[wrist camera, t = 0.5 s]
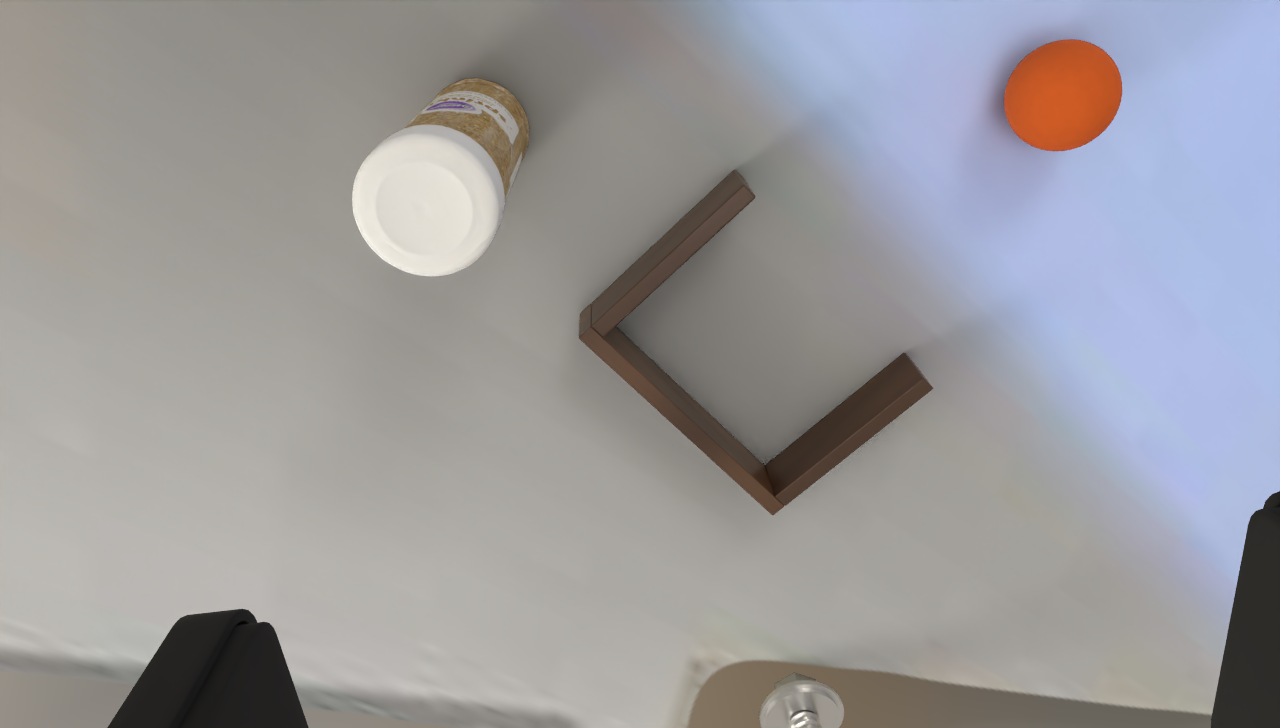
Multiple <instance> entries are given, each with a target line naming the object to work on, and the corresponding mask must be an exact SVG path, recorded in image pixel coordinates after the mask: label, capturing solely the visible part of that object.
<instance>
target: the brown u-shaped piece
mask: <svg viewBox="0 0 1280 728" xmlns="http://www.w3.org/2000/svg"><path fill="white" fill-rule="evenodd" d="M754 199H755V195H754V194H753V192H752V190H751V189H750V187H749V186H748V184H747V182H746V181H745V180H744V178H743V177H742V176H741V175H740V174H739V173H738V172H737V171H736V170H734V171H732V172H731V173H730V174H729V175H728V176H727V177H726V178H725V179H724V180H723V181H722V182H721V183H720V184H719V185H717V186H716V187H715V188H714V189H713V190H712V191H711V192H710V193H709V194H708V195H707V196H706V197H705V198H704V199H703V200H701V201H700V202H699V203H698V204H697V205H696V206H695V207H694V208H693V209H692V210H691V211H690V212H689V213H688V214H686V215H685V216H684V217H683V218H682V219H681V220H680V221H679V222H678V223H677V224H676V225H675V226H674V227H673V228H672V229H670V230H669V231H668V232H667V233H666V234H665V235H664V236H663V237H662V238H661V239H660V240H659V241H658V242H657V243H656V244H654V245H653V246H652V247H651V248H650V249H649V250H648V251H647V252H646V253H645V254H644V255H643V256H642V257H641V258H639V259H638V260H637V261H636V262H635V263H634V264H633V265H632V266H631V267H630V268H629V269H628V270H627V271H626V272H625V273H623V274H622V275H621V276H620V277H619V278H618V279H617V280H616V281H615V282H614V283H613V284H612V285H611V286H610V287H609V288H607V289H606V290H605V291H604V292H603V293H602V294H601V295H600V296H599V297H598V298H597V299H596V300H595V301H594V302H593V303H592V304H590V305H589V306H588V307H587V308H586V309H585V310H584V311H583V312H582V313H581V314H580V324H579V339H580V340H581V341H582V342H583V343H585V344H586V345H587V346H588V347H589V348H590V349H591V350H592V351H593V352H594V353H596V354H597V355H598V356H599V357H600V358H601V359H602V360H603V361H604V362H605V363H606V364H608V365H609V366H610V367H611V368H612V369H613V370H614V371H615V372H616V373H617V374H618V375H620V376H621V377H622V378H623V379H624V380H625V381H626V382H627V383H628V384H629V385H631V386H632V387H633V388H634V389H635V390H636V391H637V392H638V393H639V394H640V395H641V396H643V397H644V398H645V399H646V400H647V401H648V402H649V403H650V404H651V405H652V406H653V407H655V408H656V409H657V410H658V411H659V412H660V413H661V414H662V415H663V416H664V417H666V418H667V419H668V420H669V421H670V422H671V423H672V424H673V425H674V426H675V427H676V428H678V429H679V430H680V431H681V432H682V433H683V434H684V435H685V436H686V437H687V438H688V439H690V440H691V441H692V442H693V443H694V444H695V445H696V446H697V447H698V448H699V449H701V450H702V451H703V452H704V453H705V454H706V455H707V456H708V457H709V458H710V459H711V460H713V461H714V462H715V463H716V464H717V465H718V466H719V467H720V468H721V469H722V470H723V471H725V472H726V473H727V474H728V475H729V476H730V477H731V478H732V479H733V480H734V481H736V482H737V483H738V484H739V485H740V486H741V487H742V488H743V489H744V490H745V491H746V492H748V493H749V494H750V495H751V496H752V497H753V498H754V499H755V500H756V501H757V502H758V503H760V504H761V505H762V506H763V507H764V508H765V509H766V510H767V511H768V512H769V513H771V514H772V515H774V514H775V513H777V512H778V511H779V510H780V509H782V508H783V507H784V505H787V504H788V503H789V502H791V501H792V500H793V499H794V498H796V497H797V496H798V495H799V494H801V493H802V492H803V491H805V490H806V489H807V488H808V487H810V486H811V485H812V484H813V483H815V482H816V481H817V480H818V479H820V478H821V477H822V476H823V475H825V474H826V473H827V472H828V471H830V470H831V469H832V468H834V467H835V466H836V465H837V464H839V463H840V462H841V461H842V460H844V459H845V458H846V457H847V456H849V455H850V454H851V453H852V452H854V451H855V450H856V449H858V448H859V447H860V446H861V445H863V444H864V443H865V442H866V441H868V440H869V439H870V438H871V437H873V436H874V435H875V434H876V433H878V432H879V431H880V430H881V429H883V428H884V427H885V426H887V425H888V424H889V423H890V422H892V421H893V420H894V419H895V418H897V417H898V416H899V415H900V414H902V413H903V412H904V411H905V410H907V409H908V408H909V407H911V406H912V405H913V404H914V403H916V402H917V401H918V400H919V399H921V398H922V397H923V396H924V395H926V394H927V393H928V392H929V391H931V390H932V389H933V387H932V386H931V385H930V383H929V382H928V381H927V379H926V378H925V377H924V375H923V374H922V373H921V371H920V370H919V369H918V367H917V366H916V365H915V363H914V362H913V361H912V360H911V359H910V358H909V357H908V356H907V355H906V353H903V354H902V355H901V356H900V357H898V358H897V359H896V360H895V361H893V362H892V363H891V364H890V365H889V366H887V367H886V368H885V369H884V370H882V371H881V372H880V373H879V374H878V375H876V376H875V377H874V378H873V379H871V380H870V381H869V382H868V383H866V384H865V385H864V386H863V387H862V388H860V389H859V390H858V391H857V392H855V393H854V394H853V395H852V396H850V397H849V398H848V399H847V400H846V401H844V402H843V403H842V404H841V405H839V406H838V407H837V408H836V409H834V410H833V411H832V412H831V413H830V414H828V415H827V416H826V417H825V418H823V419H822V420H821V421H820V422H818V423H817V424H816V425H815V426H814V427H812V428H811V429H810V430H809V431H807V432H806V433H805V434H804V435H803V436H801V437H800V438H799V439H798V440H796V441H795V442H794V443H793V444H791V445H790V446H789V447H788V448H787V449H785V450H784V451H783V452H782V453H780V454H779V455H778V456H777V457H775V458H774V459H773V460H772V461H771V462H769V463H768V464H767V465H766V466H764V465H763V464H762V463H761V462H760V461H759V460H758V459H757V458H756V457H755V456H753V455H752V454H751V453H750V452H749V451H748V450H747V449H746V448H745V447H744V446H743V445H742V444H741V443H740V442H739V441H737V440H736V439H735V438H734V437H733V436H732V435H731V434H730V433H729V432H728V431H727V430H726V429H725V428H724V427H723V426H721V425H720V424H719V423H718V422H717V421H716V420H715V419H714V418H713V417H712V416H711V415H710V414H709V413H708V412H707V411H705V410H704V409H703V408H702V407H701V406H700V405H699V404H698V403H697V402H696V401H695V400H694V399H693V398H692V397H690V396H689V395H688V394H687V393H686V392H685V391H684V390H683V389H682V388H681V387H680V386H679V385H678V384H677V383H676V382H674V381H673V380H672V379H671V378H670V377H669V376H668V375H667V374H666V373H665V372H664V371H663V370H662V369H661V368H660V367H658V366H657V365H656V364H655V363H654V362H653V361H652V360H651V359H650V358H649V357H648V356H647V355H646V354H645V353H644V352H642V351H641V350H640V349H639V348H638V347H637V346H636V345H635V344H634V343H633V342H632V341H631V340H630V339H629V338H628V337H626V336H625V335H624V334H623V333H622V332H621V331H620V330H619V329H618V328H617V327H616V325H617V324H618V323H620V322H621V321H622V320H623V319H624V318H625V317H626V316H627V315H628V314H629V313H630V312H632V311H633V310H634V309H635V308H636V307H637V306H638V305H639V304H640V303H641V302H642V301H643V300H645V299H646V298H647V297H648V296H649V295H650V294H651V293H652V292H653V291H654V290H655V289H657V288H658V287H659V286H660V285H661V284H662V283H663V282H664V281H665V280H666V279H667V278H669V277H670V276H671V275H672V274H673V273H674V272H675V271H676V270H677V269H678V268H679V267H681V266H682V265H683V264H684V263H685V262H686V261H687V260H688V259H689V258H690V257H691V256H693V255H694V254H695V253H696V252H697V251H698V250H699V249H700V248H701V247H702V246H703V245H705V244H706V243H707V242H708V241H709V240H710V239H711V238H712V237H713V236H714V235H715V234H716V233H718V232H719V231H720V230H721V229H722V228H723V227H724V226H725V225H726V224H727V223H728V222H730V221H731V220H732V219H733V218H734V217H735V216H736V215H737V214H738V213H739V212H740V211H742V210H743V209H744V208H745V207H746V206H747V205H748V204H749V203H750V202H751V201H752V200H754Z"/></svg>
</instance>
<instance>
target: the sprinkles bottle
mask: <svg viewBox="0 0 1280 728" xmlns="http://www.w3.org/2000/svg"><path fill="white" fill-rule="evenodd" d="M528 142H529V124H528V120H527V117H526V114H525V112H524V110H523V108H522V106H521V105H520V104H519V102H518V100H517V99H516V98H515V97H514V96H513V94H511V93H510V92H509V91H508V90H506V89H505V88H504V87H502V86H500V85H498V84H496V83H494V82H490V81H487V80H482V79H478V78H475V79H464V80H461V81H458V82H455V83H453V84H451V85H449V86H448V87H446V88H445V89H444V90H442V91H441V92H440V93H439V94H438V95H437V96H436V97H435V99H434V100H433V101H432V102H431V103H429V104H428V105H427V106H426V107H425V108H424V109H423V110H422V111H421V112H420V113H419V114H417V115H416V116H415V117H414V118H413V120H412V121H411V122H410V123H409V125H408V126H407V127H406V128H405V129H402V130H400V131H397V132H395V133H394V134H392V135H390V136H389V137H388V138H386V139H385V140H384V141H382V142H381V143H380V144H379V145H378V146H377V147H376V148H375V149H374V150H373V151H372V152H371V153H370V154H369V155H368V156H367V158H366V159H365V160H364V162H363V163H362V165H361V167H360V168H359V171H358V173H357V176H356V178H355V181H354V186H353V193H352V204H353V213H354V216H355V220H356V223H357V226H358V228H359V230H360V233H361V234H362V236H363V238H364V239H365V241H366V242H367V244H368V245H369V246H370V247H371V248H372V250H373V251H374V252H375V253H376V254H377V255H378V256H379V257H381V258H382V259H383V260H384V261H386V262H388V263H389V264H390V265H392V266H394V267H396V268H398V269H400V270H403V271H405V272H408V273H411V274H416V275H421V276H442V275H448V274H452V273H455V272H457V271H460V270H462V269H464V268H466V267H468V266H470V265H471V264H472V263H474V262H475V261H476V260H478V259H479V258H480V257H481V256H482V255H483V254H484V252H485V251H486V250H487V249H488V247H489V246H490V244H491V242H492V240H493V239H494V237H495V235H496V232H497V230H498V228H499V226H500V223H501V220H502V216H503V212H504V206H505V202H506V199H507V197H508V195H509V193H510V190H511V187H512V185H513V182H514V180H515V177H516V175H517V172H518V169H519V166H520V163H521V161H522V159H523V157H524V154H525V151H526V149H527V147H528Z"/></svg>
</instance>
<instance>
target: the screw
mask: <svg viewBox="0 0 1280 728" xmlns="http://www.w3.org/2000/svg"><path fill="white" fill-rule="evenodd" d="M843 717H844V708H843V705H842V701H841V699H840V697H839V695H838V694H837V692H836V691H834V690H833V689H832V688H831V687H829V686H827V685H825V684H824V683H820V682H817V681H816V680H815V679H813V678H810V677H806V676H803V675H801V674H797V673H792V674H791V675H789V676H787V677H785V678H784V679H782V680H780V681H778V682H777V683H775V690H774V691H772V692H771V693H770V694H769V695H768V696H767V697H766V698H765V700H764V701H763V703H762V705H761V708H760V714H759V718H760V723H761V727H762V728H839V727H840V725H841V723H842V721H843Z"/></svg>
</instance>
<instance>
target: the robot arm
mask: <svg viewBox="0 0 1280 728" xmlns="http://www.w3.org/2000/svg"><path fill="white" fill-rule="evenodd" d="M108 728H308V725H307V722H306V719H305V716H304V713H303V710H302V707H301V704H300V701H299V699H298V696H297V693H296V690H295V687H294V684H293V681H292V678H291V675H290V672H289V669H288V667H287V664H286V661H285V658H284V655H283V652H282V649H281V646H280V643H279V640H278V637H277V634H276V632H275V630H274V628H273V627H272V626H271V625H270V624H269V623H267V622H260V623H257V621H256V619H255V617H254V615H253V614H252V613H251V612H250V611H249V610H245V609H238V610H229V611H220V612H211V613H202V614H194V615H187V616H184V617H182V618H180V619H179V620H178V621H177V622H176V623H175V625H174V626H173V627H172V629H171V630H170V632H169V633H168V635H167V636H166V638H165V640H164V641H163V643H162V644H161V646H160V647H159V649H158V650H157V652H156V653H155V655H154V657H153V658H152V660H151V661H150V663H149V664H148V666H147V667H146V669H145V670H144V672H143V674H142V675H141V677H140V678H139V680H138V681H137V683H136V684H135V686H134V687H133V689H132V691H131V692H130V694H129V695H128V697H127V699H126V700H125V701H124V703H123V705H122V706H121V708H120V709H119V711H118V712H117V714H116V715H115V717H114V718H113V720H112V722H111V723H110V725H109V726H108ZM1211 728H1280V491H1279V492H1277V493H1274V494H1272V495H1271V496H1270V497H1269V498H1268V499H1267V500H1266V502H1265V505H1264V507H1263V509H1261V510H1258V511H1256V512H1255V513H1254V514H1253V515H1252V516H1251V518H1250V521H1249V524H1248V529H1247V534H1246V540H1245V545H1244V550H1243V556H1242V561H1241V566H1240V571H1239V577H1238V582H1237V587H1236V592H1235V598H1234V603H1233V608H1232V613H1231V619H1230V624H1229V629H1228V634H1227V640H1226V645H1225V650H1224V655H1223V661H1222V666H1221V671H1220V676H1219V682H1218V687H1217V692H1216V697H1215V703H1214V708H1213V713H1212V719H1211Z"/></svg>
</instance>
